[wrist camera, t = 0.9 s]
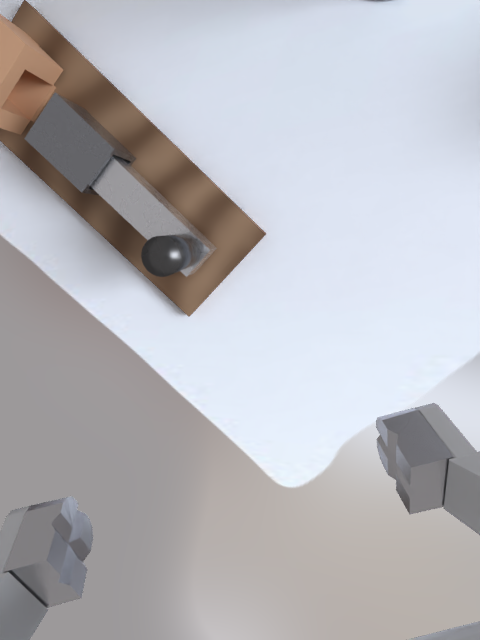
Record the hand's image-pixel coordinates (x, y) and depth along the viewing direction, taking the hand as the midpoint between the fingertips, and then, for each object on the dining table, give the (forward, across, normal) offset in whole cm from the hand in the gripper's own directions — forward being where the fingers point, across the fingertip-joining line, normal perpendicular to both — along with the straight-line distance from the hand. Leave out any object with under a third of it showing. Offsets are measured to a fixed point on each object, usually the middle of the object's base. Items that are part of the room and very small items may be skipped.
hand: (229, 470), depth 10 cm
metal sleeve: (+44, +10, -5) cm, 46 cm away
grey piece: (+41, +6, +1) cm, 41 cm away
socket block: (+49, +16, -13) cm, 53 cm away
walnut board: (+45, +9, -2) cm, 46 cm away
